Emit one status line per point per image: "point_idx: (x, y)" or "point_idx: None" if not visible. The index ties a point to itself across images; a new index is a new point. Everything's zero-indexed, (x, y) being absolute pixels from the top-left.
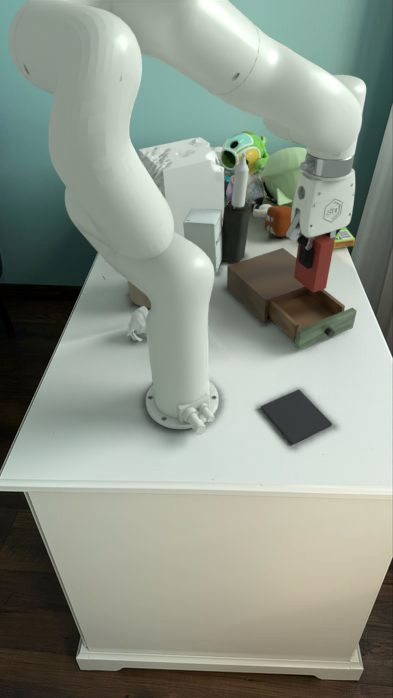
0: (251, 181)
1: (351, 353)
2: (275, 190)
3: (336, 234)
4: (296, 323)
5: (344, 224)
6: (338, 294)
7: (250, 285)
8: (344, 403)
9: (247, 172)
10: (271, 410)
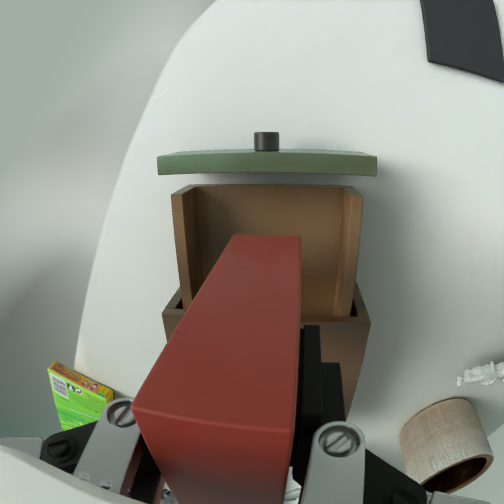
0: None
1: (239, 85)
2: None
3: (84, 425)
4: (355, 201)
5: (2, 473)
6: (134, 277)
7: (353, 383)
8: None
9: None
10: (496, 61)
